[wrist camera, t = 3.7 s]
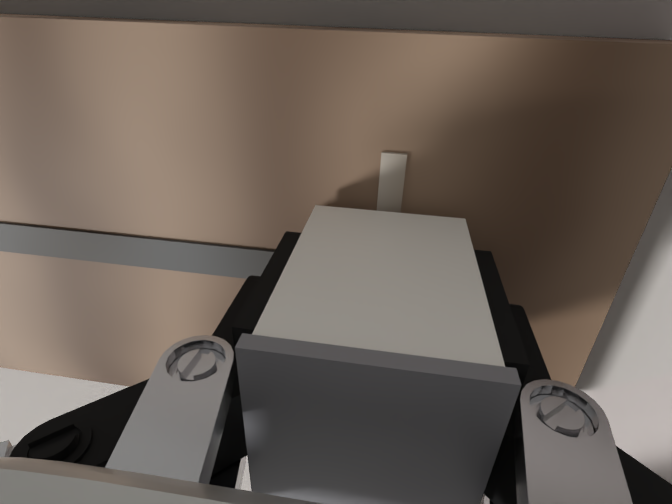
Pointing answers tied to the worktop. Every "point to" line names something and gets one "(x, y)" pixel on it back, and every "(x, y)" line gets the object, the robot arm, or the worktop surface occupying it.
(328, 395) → the fader knob
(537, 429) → the robot arm
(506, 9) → the worktop surface
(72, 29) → the fader console
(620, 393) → the worktop surface
